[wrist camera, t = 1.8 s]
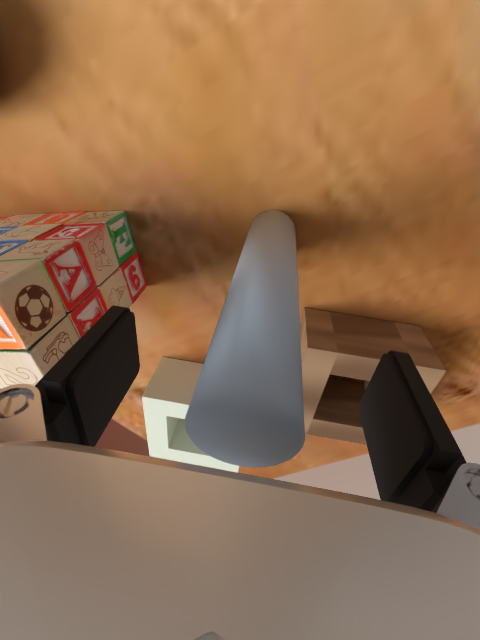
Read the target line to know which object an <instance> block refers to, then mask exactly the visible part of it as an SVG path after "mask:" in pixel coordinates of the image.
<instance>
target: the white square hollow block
mask: <svg viewBox="0 0 480 640" xmlns="http://www.w3.org/2000/svg"><path fill="white" fill-rule="evenodd" d="M202 367H203V364H202V363H196V362H190V361H184V360H178V359H172V358H167V357H162V359H161V361H160V363H159V365H158V367H157V368H156V370H155V372H154V374H153V376H152V378H151V380H150V382H149V384H148V386H147V388H146V390H145V392H144V394H143V396H142V401H143V408H144V416H145V424H146V432H147V439H148V446H149V455H150V456H152V457H158V458H163V459H168V460H174V461H179V462H184V463H189V464H195V465H200V466H205V467H211V468H216V469H221V470H226V471H232V472H237V473H238V469H239V466H237V465H232V464H229V463H225V462H222V461H220V460H217V459H215V458H213V457H211V456H209V455H208V454H206V453H204V452H203V451H202V450H200V449H199V448H198V447H197V446H196V445H195V444H194V443H193V442H192V441H191V439H190V438H189V436H188V434H187V432H186V429H185V417H186V414H187V411H188V408H189V405H190V402H191V399H192V396H193V393H194V390H195V387H196V384H197V382H198V379H199V376H200V373H201V370H202Z"/></svg>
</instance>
